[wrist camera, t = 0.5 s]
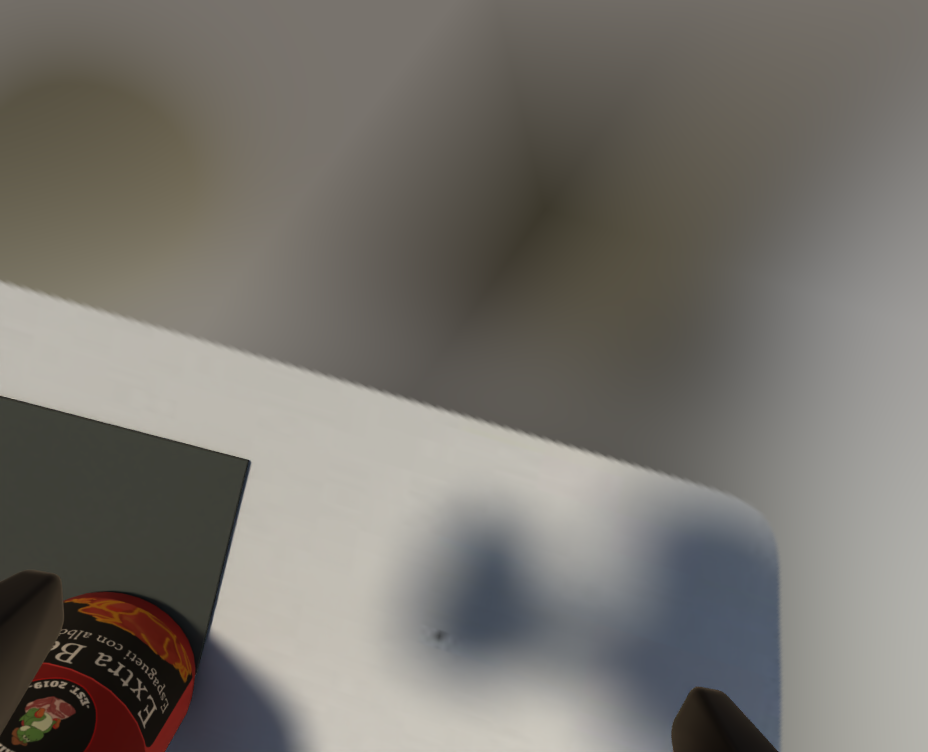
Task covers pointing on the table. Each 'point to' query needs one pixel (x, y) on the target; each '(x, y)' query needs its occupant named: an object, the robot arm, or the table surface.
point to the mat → (116, 511)
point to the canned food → (107, 681)
